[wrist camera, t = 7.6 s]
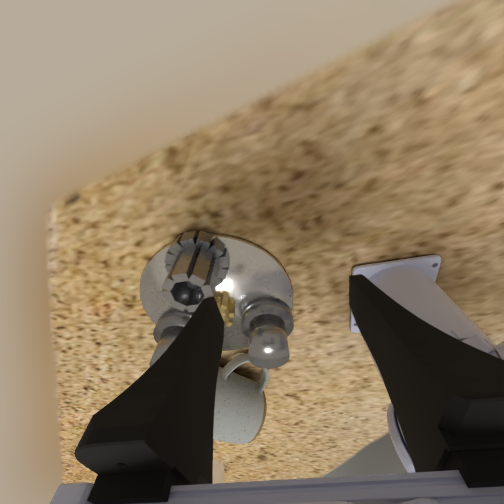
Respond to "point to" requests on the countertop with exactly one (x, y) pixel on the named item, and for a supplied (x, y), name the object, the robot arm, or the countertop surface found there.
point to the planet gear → (194, 269)
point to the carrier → (231, 304)
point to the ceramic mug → (238, 404)
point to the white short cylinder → (218, 472)
